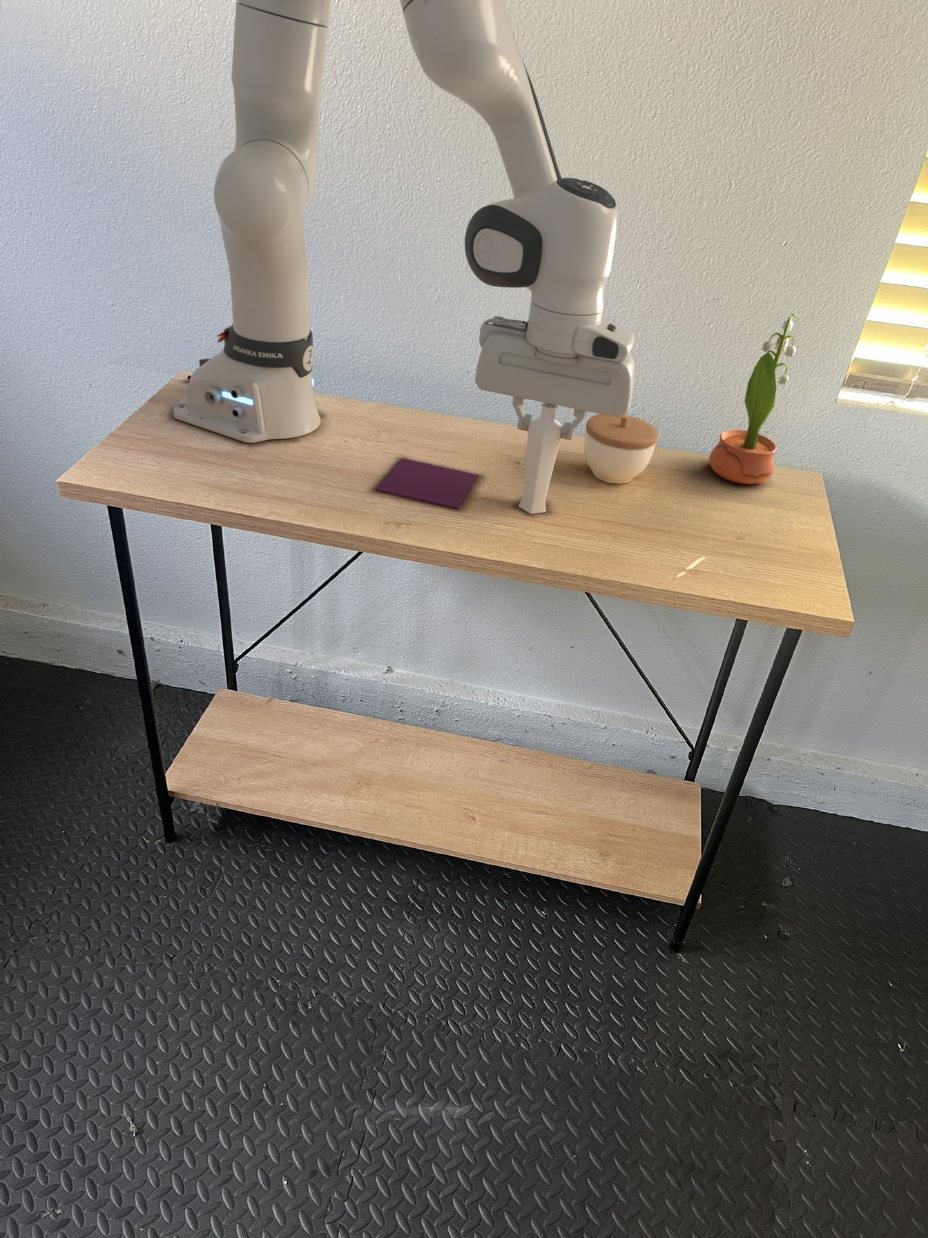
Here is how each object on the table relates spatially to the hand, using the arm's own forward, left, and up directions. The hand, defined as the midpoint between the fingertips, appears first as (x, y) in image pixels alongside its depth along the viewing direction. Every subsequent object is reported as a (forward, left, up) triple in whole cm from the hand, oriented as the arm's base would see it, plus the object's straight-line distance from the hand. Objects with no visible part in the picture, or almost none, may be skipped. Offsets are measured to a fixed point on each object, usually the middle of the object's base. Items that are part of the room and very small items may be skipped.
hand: (545, 433), depth 113 cm
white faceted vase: (0, 0, -11) cm, 11 cm away
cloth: (-15, 0, -11) cm, 19 cm away
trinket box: (+9, +16, -11) cm, 22 cm away
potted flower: (+28, +27, -11) cm, 41 cm away
